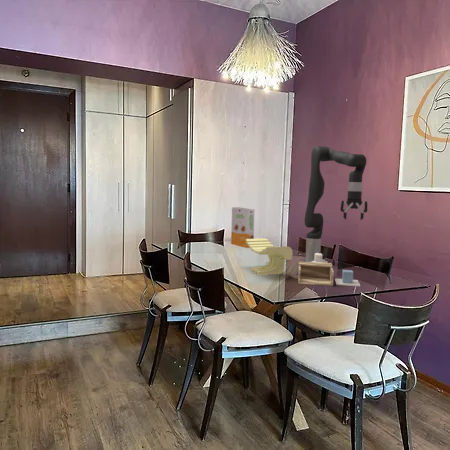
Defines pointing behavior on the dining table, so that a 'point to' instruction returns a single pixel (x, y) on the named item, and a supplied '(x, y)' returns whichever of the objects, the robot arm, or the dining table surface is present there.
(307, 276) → the cubby
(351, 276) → the block
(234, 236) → the cereal box
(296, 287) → the dining table surface
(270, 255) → the slatted curved stool
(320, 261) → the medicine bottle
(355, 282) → the mat
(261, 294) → the dining table surface
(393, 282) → the dining table surface
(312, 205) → the robot arm
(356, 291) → the dining table surface
